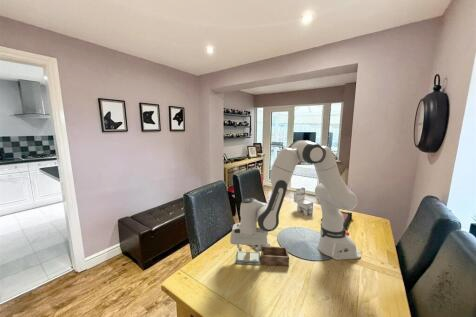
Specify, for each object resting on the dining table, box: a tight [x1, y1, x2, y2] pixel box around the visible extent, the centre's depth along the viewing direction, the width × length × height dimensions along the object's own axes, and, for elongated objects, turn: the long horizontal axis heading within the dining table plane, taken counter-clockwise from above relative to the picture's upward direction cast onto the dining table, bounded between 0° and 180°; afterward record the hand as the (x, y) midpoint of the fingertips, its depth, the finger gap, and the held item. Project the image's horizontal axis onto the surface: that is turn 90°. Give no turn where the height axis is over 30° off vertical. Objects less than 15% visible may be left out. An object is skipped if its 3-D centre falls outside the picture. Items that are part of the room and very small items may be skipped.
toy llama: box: [293, 187, 314, 217], centre depth 168 cm, size 8×18×20 cm, turn 25°
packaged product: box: [249, 242, 271, 251], centre depth 125 cm, size 18×5×10 cm
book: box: [320, 210, 353, 231], centre depth 152 cm, size 26×18×5 cm
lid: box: [237, 246, 260, 262], centre depth 109 cm, size 12×7×5 cm, turn 85°
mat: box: [235, 251, 261, 266], centre depth 109 cm, size 13×10×1 cm
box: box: [260, 245, 290, 267], centre depth 107 cm, size 14×9×5 cm, turn 85°
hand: (248, 251), depth 109 cm, fingers open, 8 cm apart
